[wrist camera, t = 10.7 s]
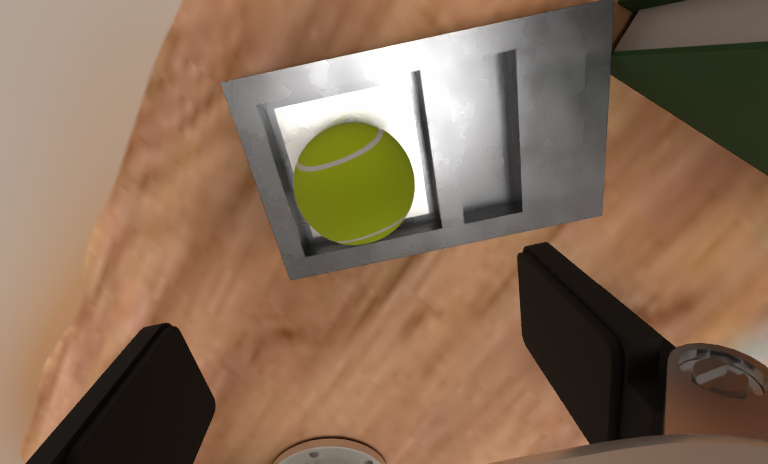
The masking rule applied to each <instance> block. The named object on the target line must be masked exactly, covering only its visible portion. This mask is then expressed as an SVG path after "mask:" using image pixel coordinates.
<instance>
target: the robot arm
mask: <svg viewBox="0 0 768 464" xmlns="http://www.w3.org/2000/svg"><path fill="white" fill-rule="evenodd" d="M517 262H518V278H519V294H520V310H521V326H522V336H523V340H524V343H525V345H526V347H527V349H528V350H529V352H530V353H531V355H532V356H533V358H534V359H535V361H536V362H537V364H538V365H539V367H540V368H541V370H542V372H543V373H544V375H545V376H546V378H547V379H548V381H549V382H550V384H551V385H552V387H553V388H554V390H555V391H556V393H557V395H558V396H559V398H560V399H561V401H562V402H563V404H564V405H565V407H566V408H567V410H568V411H569V413H570V414H571V416H572V417H573V419H574V421H575V422H576V424H577V425H578V427H579V428H580V430H581V431H582V433H583V434H584V436H585V437H586V439H587V440H588V442H589V445H584V446H578V447H573V448H568V449H562V450H557V451H551V452H546V453H541V454H535V455H530V456H524V457H519V458H514V459H509V460H504V461H499V462H494V463H489V464H768V368H767V367H766V366H765V365H763V364H762V363H760V362H759V361H757V360H756V359H754V358H752V357H751V356H748V355H746V354H744V353H741V352H739V351H737V350H734V349H730V348H727V347H723V346H719V345H713V344H705V343H694V344H686V345H682V346H679V347H677V348H676V347H675V346H674V345H672V344H671V343H670V342H669V341H667V340H666V339H665V338H664V337H663V336H661V335H660V334H659V333H658V332H657V331H655V330H654V329H653V328H652V327H650V326H649V325H648V324H647V323H646V322H644V321H643V320H642V319H641V318H640V317H638V316H637V315H636V314H635V313H633V312H632V311H631V310H630V309H629V308H627V307H626V306H625V305H624V304H622V303H621V302H620V301H619V300H618V299H616V298H615V297H614V296H613V295H612V294H610V293H609V292H608V291H607V290H605V289H604V288H603V287H602V286H600V285H599V284H597V283H596V282H595V281H594V280H593V279H591V278H590V277H589V276H588V275H587V274H585V273H584V272H583V271H582V270H581V269H579V268H578V267H577V266H576V265H574V264H573V263H572V262H571V261H570V260H568V259H567V258H566V257H565V256H564V255H562V254H561V253H560V252H559V251H557V250H556V249H555V248H554V247H553V246H551V245H550V244H549V243H547V242H544V243H539V244H534V245H530V246H525V247H524V249H523V252H522V253H519V254H518V256H517ZM214 413H215V399H214V397H213V395H212V393H211V391H210V389H209V387H208V385H207V383H206V381H205V379H204V377H203V375H202V373H201V371H200V369H199V367H198V365H197V363H196V361H195V359H194V357H193V355H192V353H191V352H190V350H189V348H188V346H187V344H186V342H185V340H184V338H183V336H182V334H181V332H180V330H179V329H178V328H177V327H175V326H174V327H173V326H172V325H171V324H169V323H162V324H157V325H153V326H148V327H144V328H143V329H141V330H140V331H139V333H138V334H137V335H136V336H135V337H134V338H133V339H132V341H131V342H130V343H129V344H128V345H127V346H126V348H125V349H124V350H123V351H122V352H121V353H120V355H119V356H118V357H117V358H116V359H115V360H114V362H113V363H112V364H111V365H110V366H109V367H108V368H107V370H106V371H105V372H104V373H103V374H102V375H101V377H100V378H99V379H98V380H97V381H96V382H95V384H94V385H93V386H92V387H91V388H90V389H89V391H88V392H87V393H86V394H85V395H84V396H83V398H82V399H81V400H80V401H79V402H78V403H77V404H76V406H75V407H74V408H73V409H72V410H71V411H70V413H69V414H68V415H67V416H66V417H65V418H64V420H63V421H62V422H61V423H60V424H59V425H58V427H57V428H56V429H55V430H54V431H53V432H52V433H51V435H50V436H49V437H48V438H47V439H46V440H45V442H44V443H43V444H42V445H41V446H40V447H39V449H38V450H37V451H36V452H35V453H34V454H33V456H32V457H31V458H30V459H29V460H28V461H27V462H26V464H193V463H194V460H195V458H196V456H197V453H198V451H199V448H200V446H201V444H202V441H203V439H204V437H205V434H206V432H207V429H208V427H209V425H210V422H211V420H212V418H213V415H214ZM273 464H386V463H385V461H384V460H383V458H382V457H381V456H380V455H379V454H378V453H377V452H375V451H374V450H372V449H371V448H369V447H367V446H365V445H363V444H360V443H358V442H354V441H350V440H345V439H335V438H332V439H318V440H312V441H308V442H305V443H302V444H299V445H297V446H294V447H292V448H290V449H288V450H287V451H285V452H284V453H283V454H281V455H280V456H279V457H278V458H277V459H276V460H275V461H274V462H273Z"/></svg>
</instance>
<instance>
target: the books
mask: <svg viewBox="0 0 768 464" xmlns="http://www.w3.org/2000/svg"><path fill="white" fill-rule="evenodd" d="M618 4H620V5H621V6H623V7H625V8H626V9H628V10H630V11H631V12H633V13H634V14H636V16H635V18H634V19H633V21H632V23H631V24H630V26H629V27H628V29H627V31H626V32H625V34H624V35H623V37H622V39H621V40H620V42H619V43H618V45H617V47H616V48H615V50H614V51H613V52H611V68H610V74H611V75H612V76H614V77H615V78H617V79H618V80H620V81H622V82H623V83H625V84H626V85H628V86H629V87H631V88H632V89H634V90H636V91H637V92H639V93H640V94H642V95H643V96H645V97H646V98H648V99H649V100H651V101H653V102H654V103H656V104H657V105H659V106H660V107H662V108H663V109H665V110H667V111H668V112H670V113H671V114H673V115H674V116H676V117H677V118H679V119H680V120H682V121H684V122H685V123H687V124H688V125H690V126H691V127H693V128H694V129H696V130H698V131H699V132H701V133H702V134H704V135H705V136H707V137H708V138H710V139H711V140H713V141H715V142H716V143H718V144H719V145H721V146H722V147H724V148H725V149H727V150H729V151H730V152H732V153H733V154H735V155H736V156H738V157H739V158H741V159H742V160H744V161H746V162H747V163H749V164H750V165H752V166H753V167H755V168H756V169H758V170H760V171H761V172H763V173H764V174H766V175H767V176H768V0H619V1H618Z"/></svg>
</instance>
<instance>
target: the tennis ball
mask: <svg viewBox="0 0 768 464" xmlns="http://www.w3.org/2000/svg"><path fill="white" fill-rule="evenodd" d="M293 188H294V195H295V199H296V202H297V205H298V208H299V210H300V212H301V214H302V215H303V217H304V219H305V220H306V221H307V222H308V224H309V225H310V226H311V227H312V228H313V229H314V230H315V231H317V232H318V233H319V234H320V235H322V236H324V237H325V238H327V239H329V240H331V241H335V242H337V243H340V244H345V245H362V244H368V243H372V242H375V241H377V240H380V239H382V238H384V237H386V236H387V235H389V234H390V233H392V232H393V231H394V230H395V229H396V228H397V227H398V226H399V225H400V224H401V223H402V222H403V221H404V219H405V218H406V216H407V214H408V212H409V211H410V208H411V206H412V203H413V199H414V193H415V177H414V171H413V167H412V164H411V162H410V159H409V157H408V155H407V153H406V151H405V150H404V149H403V147H402V146H401V145H400V143H399V142H398V141H397V140H396V139H395V138H394V137H393V136H391V135H390V134H389V133H387V132H386V131H384V130H380V129H378V127H376V126H373V125H370V124H365V123H344V124H339V125H335V126H332V127H330V128H328V129H326V130H324V131H322V132H321V133H319V134H318V135H316V136H315V137H314V138H313V139H312V140H311V141H310V142H309V143H308V144H307V145H306V146H305V148H304V149H303V150H302V152H301V154H300V155H299V157H298V162H297V163H296V166H295V170H294V177H293Z"/></svg>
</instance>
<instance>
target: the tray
mask: <svg viewBox="0 0 768 464" xmlns="http://www.w3.org/2000/svg"><path fill="white" fill-rule="evenodd" d="M613 15H614V0H601V1H596V2H592V3H587V4H582V5H578V6H573V7H569V8H564V9H559V10H555V11H550V12H545V13H541V14H536V15H531V16H527V17H522V18H518V19H513V20H508V21H504V22H499V23H494V24H490V25H485V26H480V27H476V28H471V29H467V30H462V31H457V32H453V33H448V34H443V35H439V36H434V37H429V38H425V39H420V40H416V41H411V42H406V43H402V44H397V45H392V46H388V47H383V48H378V49H374V50H369V51H364V52H360V53H355V54H351V55H346V56H341V57H337V58H332V59H327V60H323V61H318V62H313V63H309V64H304V65H300V66H295V67H290V68H286V69H281V70H276V71H272V72H267V73H262V74H258V75H253V76H249V77H244V78H239V79H235V80H230V81H225V82H221V86H222V89H223V92H224V95H225V98H226V100H227V103H228V106H229V109H230V112H231V115H232V117H233V120H234V123H235V126H236V129H237V131H238V134H239V137H240V140H241V143H242V146H243V148H244V151H245V154H246V157H247V160H248V163H249V165H250V168H251V171H252V174H253V177H254V180H255V182H256V185H257V188H258V191H259V194H260V196H261V199H262V202H263V205H264V208H265V211H266V213H267V216H268V219H269V222H270V225H271V228H272V230H273V233H274V236H275V239H276V242H277V245H278V247H279V250H280V253H281V256H282V259H283V261H284V264H285V267H286V270H287V273H288V276H289V278H290V280H294V279H299V278H304V277H309V276H313V275H318V274H323V273H328V272H333V271H338V270H342V269H347V268H352V267H357V266H362V265H366V264H371V263H376V262H381V261H386V260H390V259H395V258H400V257H405V256H410V255H415V254H419V253H424V252H429V251H434V250H439V249H443V248H448V247H453V246H458V245H463V244H467V243H472V242H477V241H482V240H487V239H492V238H496V237H501V236H506V235H511V234H516V233H520V232H525V231H530V230H535V229H540V228H544V227H549V226H554V225H559V224H564V223H569V222H573V221H578V220H583V219H588V218H593V217H597V216H602V210H603V192H604V174H605V157H606V139H607V121H608V104H609V86H610V68H611V51H612V33H613ZM344 123H365V124H370V125H373V126H376V127H378V129H380V130H384V131H386V132H387V133H389V134H390V135H391V136H393V137H394V138H395V139H396V140H397V141H398V142H399V143H400V145H401V146H402V147H403V149H404V150H405V151H406V153H407V155H408V157H409V159H410V162H411V164H412V167H413V171H414V177H415V193H414V199H413V203H412V206H411V208H410V211H409V212H408V214H407V216H406V218H405V219H404V221H403V222H402V223H401V224H400V225H399V226H398V227H397V228H396V229H395V230H394V231H393V232H392V233H390V234H389V235H387V236H386V237H384V238H382V239H380V240H377V241H375V242H372V243H368V244H362V245H345V244H340V243H337V242H335V241H331V240H329V239H327V238H325V237H324V236H322V235H320V234H319V233H318V232H317V231H315V230H314V229H313V228H312V227H311V226H310V225H309V224H308V222H307V221H306V220H305V219H304V217H303V215H302V214H301V212H300V210H299V208H298V205H297V202H296V199H295V195H294V188H293V177H294V170H295V166H296V163H297V162H298V157H299V155H300V154H301V152H302V150H303V149H304V148H305V146H306V145H307V144H308V143H309V142H310V141H311V140H312V139H313V138H314V137H315V136H316V135H318V134H319V133H321V132H322V131H324V130H326V129H328V128H330V127H332V126H335V125H339V124H344Z"/></svg>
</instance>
